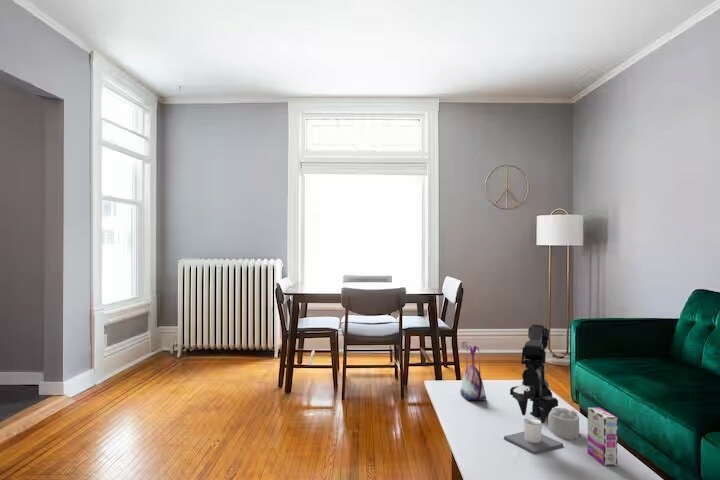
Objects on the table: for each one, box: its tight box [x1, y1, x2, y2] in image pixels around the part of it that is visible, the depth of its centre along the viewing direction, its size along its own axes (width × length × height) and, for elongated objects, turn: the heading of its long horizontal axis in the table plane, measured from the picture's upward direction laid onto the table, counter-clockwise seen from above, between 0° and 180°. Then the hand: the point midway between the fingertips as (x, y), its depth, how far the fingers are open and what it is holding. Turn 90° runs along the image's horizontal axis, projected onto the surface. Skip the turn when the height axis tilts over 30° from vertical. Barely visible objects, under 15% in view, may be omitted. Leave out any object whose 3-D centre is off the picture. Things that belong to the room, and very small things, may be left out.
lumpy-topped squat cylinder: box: [547, 407, 580, 440], centre depth 193 cm, size 10×13×9 cm
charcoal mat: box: [503, 431, 564, 455], centre depth 183 cm, size 15×15×1 cm
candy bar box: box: [586, 406, 619, 467], centre depth 170 cm, size 11×5×16 cm, turn 4°
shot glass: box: [523, 417, 543, 443], centre depth 184 cm, size 7×7×7 cm
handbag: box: [459, 345, 487, 401], centre depth 238 cm, size 21×10×25 cm, turn 6°
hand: (533, 419), depth 183 cm, fingers open, 9 cm apart
